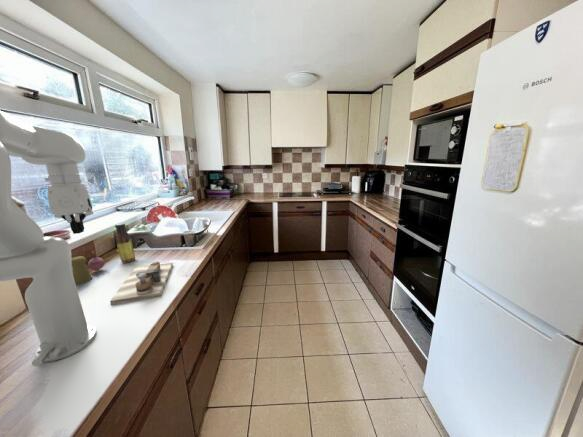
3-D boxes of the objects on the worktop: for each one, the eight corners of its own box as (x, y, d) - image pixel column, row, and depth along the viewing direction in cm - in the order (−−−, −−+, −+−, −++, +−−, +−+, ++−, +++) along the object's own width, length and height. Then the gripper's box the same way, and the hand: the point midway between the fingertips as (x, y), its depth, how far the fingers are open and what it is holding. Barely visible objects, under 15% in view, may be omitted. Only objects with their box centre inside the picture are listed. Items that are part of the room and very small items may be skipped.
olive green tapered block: (81, 284, 98) (74, 260, 96) (70, 283, 100) (63, 259, 97) (95, 277, 104) (89, 254, 101) (84, 276, 105) (78, 254, 102)
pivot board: (160, 296, 89) (157, 281, 87) (110, 304, 84) (107, 289, 83) (172, 265, 115) (170, 253, 113) (135, 270, 110) (132, 258, 108)
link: (149, 290, 88) (147, 277, 87) (134, 292, 87) (131, 279, 86) (162, 266, 109) (161, 255, 107) (150, 267, 107) (148, 256, 106)
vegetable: (105, 266, 115) (100, 247, 112) (107, 270, 111) (102, 251, 108) (89, 271, 111) (84, 251, 108) (90, 275, 106) (85, 255, 104)
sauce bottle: (138, 260, 122) (130, 223, 117) (124, 264, 117) (116, 226, 112) (131, 257, 125) (124, 221, 120) (118, 261, 120) (110, 224, 115)
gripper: (29, 182, 73) (45, 238, 77) (86, 179, 77) (98, 233, 81) (46, 180, 80) (60, 232, 84) (97, 178, 84) (108, 227, 88)
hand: (78, 232), depth 83 cm, fingers closed
